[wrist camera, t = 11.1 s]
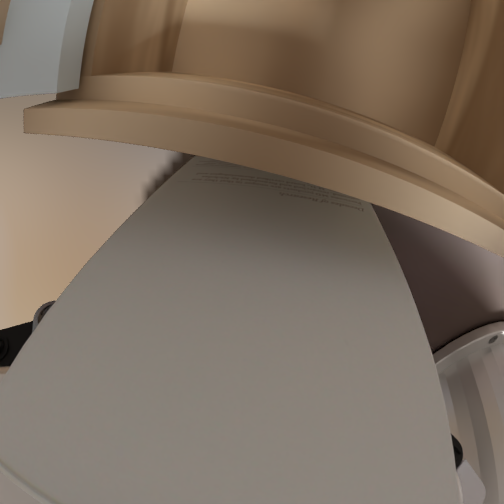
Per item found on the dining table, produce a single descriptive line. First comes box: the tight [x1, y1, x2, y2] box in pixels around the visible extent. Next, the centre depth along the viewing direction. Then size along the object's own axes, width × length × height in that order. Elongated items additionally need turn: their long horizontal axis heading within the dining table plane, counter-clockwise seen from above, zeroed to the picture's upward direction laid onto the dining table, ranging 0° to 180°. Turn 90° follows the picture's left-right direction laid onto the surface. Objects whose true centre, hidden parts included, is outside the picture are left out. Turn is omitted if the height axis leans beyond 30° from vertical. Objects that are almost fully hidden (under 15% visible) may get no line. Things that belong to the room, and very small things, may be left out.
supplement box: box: [0, 156, 458, 504], centre depth 9 cm, size 7×7×13 cm
